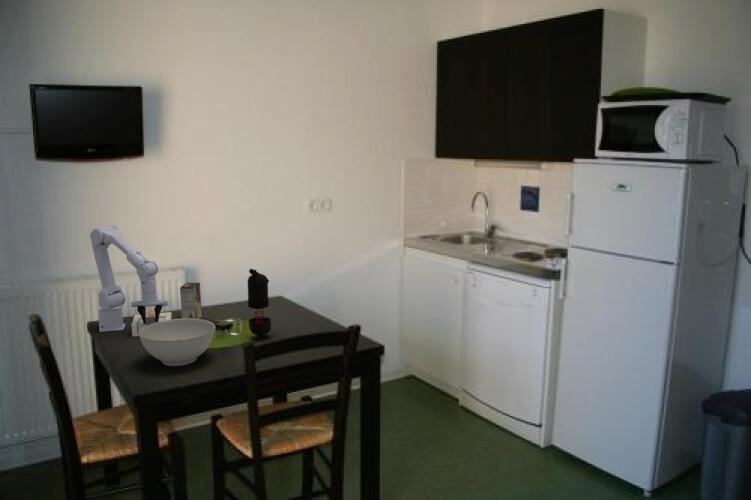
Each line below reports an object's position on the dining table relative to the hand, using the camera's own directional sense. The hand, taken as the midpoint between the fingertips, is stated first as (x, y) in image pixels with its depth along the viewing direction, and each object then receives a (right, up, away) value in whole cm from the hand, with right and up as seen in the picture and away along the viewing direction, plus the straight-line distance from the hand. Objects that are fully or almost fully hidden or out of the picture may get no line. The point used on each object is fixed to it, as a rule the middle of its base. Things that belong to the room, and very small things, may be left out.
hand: (151, 323), depth 260 cm
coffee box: (+11, -1, +22) cm, 24 cm away
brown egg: (-3, -1, +11) cm, 12 cm away
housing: (-2, -4, +7) cm, 8 cm away
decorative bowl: (+21, -11, -28) cm, 37 cm away
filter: (+47, -6, -2) cm, 47 cm away
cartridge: (-1, -3, +4) cm, 5 cm away
